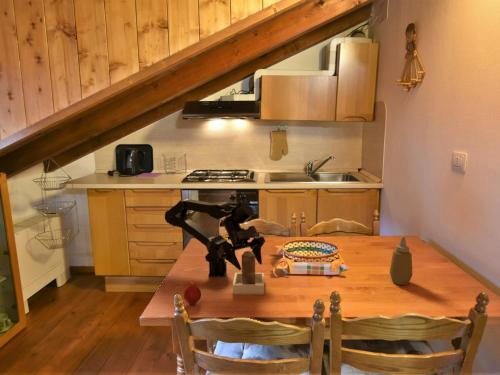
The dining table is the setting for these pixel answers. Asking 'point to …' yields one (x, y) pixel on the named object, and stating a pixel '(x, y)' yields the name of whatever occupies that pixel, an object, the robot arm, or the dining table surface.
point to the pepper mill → (248, 267)
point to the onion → (192, 294)
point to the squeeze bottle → (401, 264)
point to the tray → (248, 285)
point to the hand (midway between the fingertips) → (250, 266)
